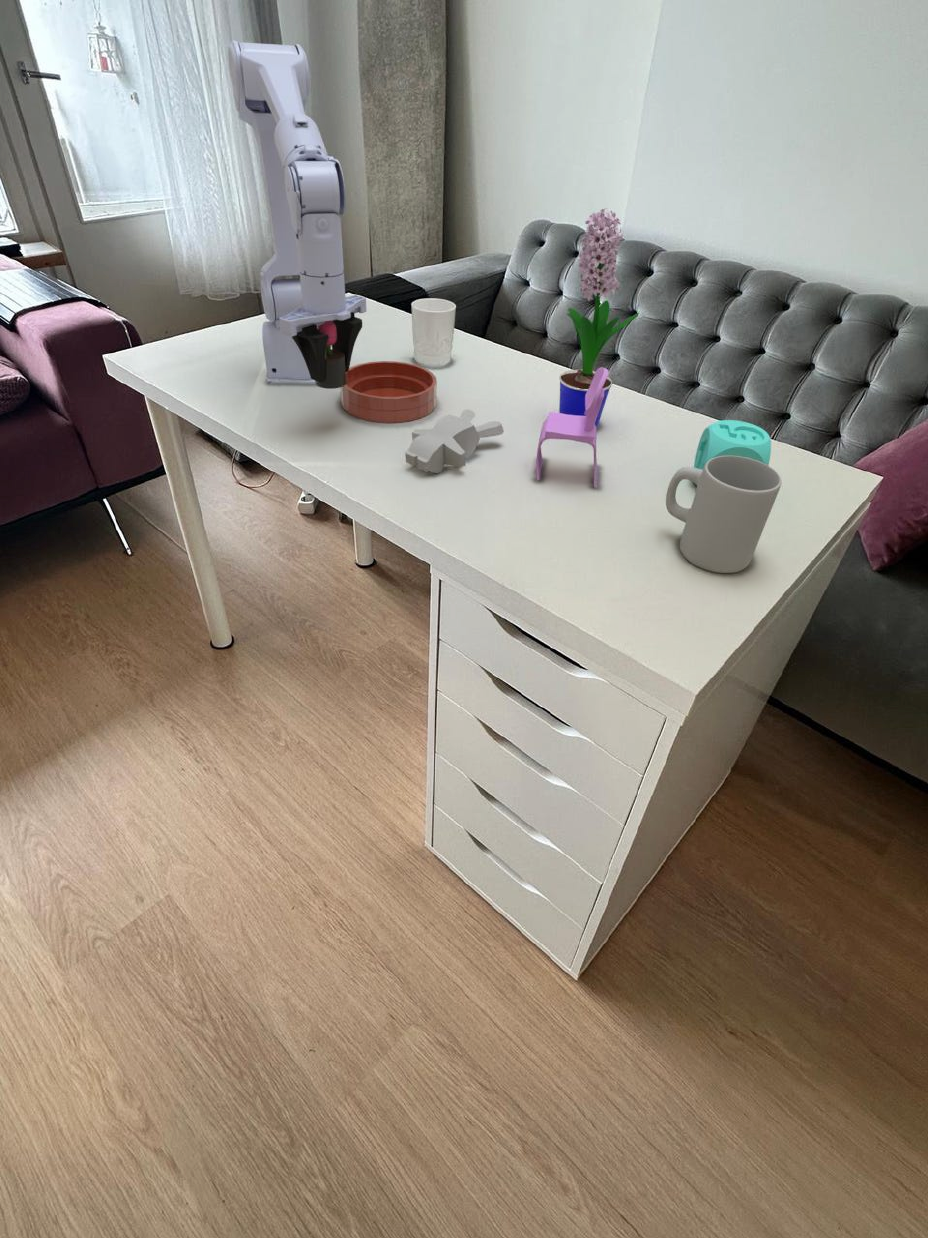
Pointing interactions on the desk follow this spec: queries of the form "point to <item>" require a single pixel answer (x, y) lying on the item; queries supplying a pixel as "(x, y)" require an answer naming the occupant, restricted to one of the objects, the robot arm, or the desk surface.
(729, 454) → the decorative dice
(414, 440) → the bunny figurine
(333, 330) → the tulip
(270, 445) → the desk surface
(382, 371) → the bowl
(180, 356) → the desk surface
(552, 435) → the toy chair
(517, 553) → the desk surface
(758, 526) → the mug
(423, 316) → the white cup
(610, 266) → the hyacinth
